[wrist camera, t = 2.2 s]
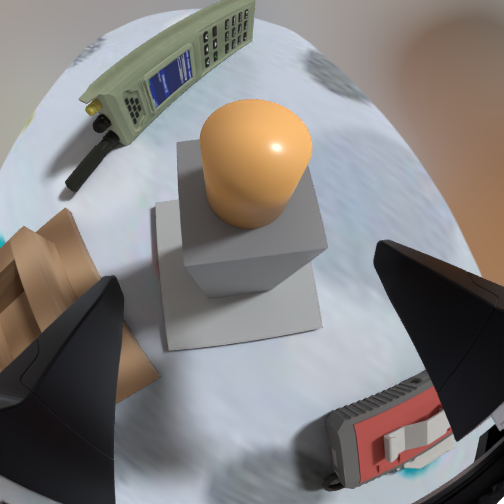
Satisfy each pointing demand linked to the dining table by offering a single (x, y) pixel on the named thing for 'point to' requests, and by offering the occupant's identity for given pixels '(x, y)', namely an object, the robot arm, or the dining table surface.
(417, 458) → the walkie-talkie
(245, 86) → the dining table surface
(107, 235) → the dining table surface
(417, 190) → the dining table surface
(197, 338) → the mat
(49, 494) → the robot arm
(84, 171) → the handheld radio
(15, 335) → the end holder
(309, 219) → the connector plug
